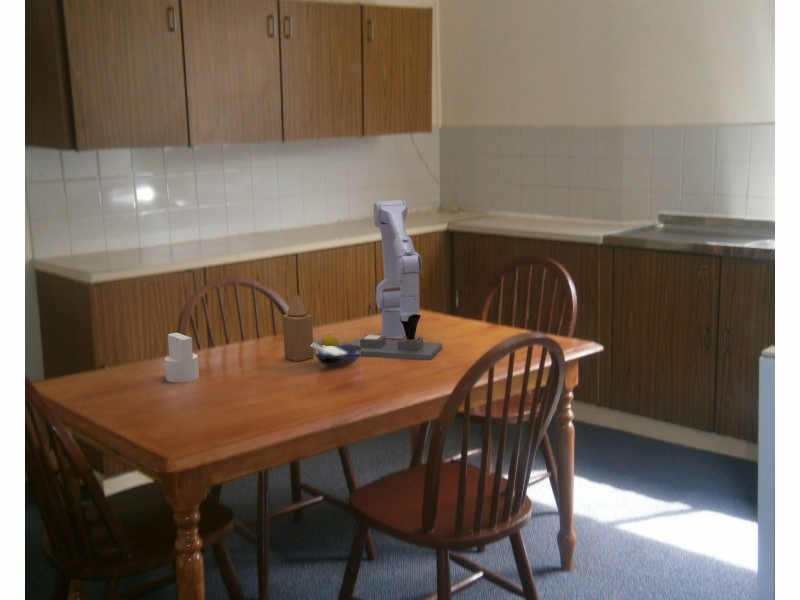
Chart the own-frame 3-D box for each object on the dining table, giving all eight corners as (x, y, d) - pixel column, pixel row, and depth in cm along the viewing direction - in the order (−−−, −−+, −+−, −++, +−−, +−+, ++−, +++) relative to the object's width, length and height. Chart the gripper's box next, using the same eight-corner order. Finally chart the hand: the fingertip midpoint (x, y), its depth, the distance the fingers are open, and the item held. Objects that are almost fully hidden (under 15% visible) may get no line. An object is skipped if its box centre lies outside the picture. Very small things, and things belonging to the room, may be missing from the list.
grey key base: (356, 343, 287) (355, 330, 286) (442, 347, 279) (441, 335, 279) (340, 354, 274) (340, 341, 273) (430, 360, 266) (430, 346, 265)
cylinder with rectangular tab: (160, 377, 255) (157, 336, 253) (189, 371, 261) (186, 330, 258) (175, 384, 248) (171, 342, 246) (204, 377, 254) (202, 336, 251)
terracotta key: (405, 343, 277) (405, 336, 277) (419, 343, 276) (419, 337, 276) (401, 346, 273) (401, 340, 273) (415, 347, 272) (415, 341, 272)
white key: (368, 341, 281) (368, 334, 280) (382, 341, 279) (381, 335, 279) (363, 344, 277) (363, 338, 276) (377, 345, 275) (377, 339, 275)
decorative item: (314, 358, 271) (311, 292, 267) (296, 362, 267) (292, 295, 263) (302, 353, 276) (299, 289, 272) (283, 358, 272) (280, 292, 268)
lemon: (317, 360, 269) (316, 333, 267) (331, 356, 273) (330, 330, 271) (329, 363, 265) (328, 337, 263) (343, 359, 269) (342, 333, 267)
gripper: (402, 289, 279) (403, 332, 282) (390, 299, 266) (391, 344, 268) (425, 290, 277) (426, 333, 280) (413, 300, 264) (414, 345, 267)
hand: (410, 339), depth 274 cm, fingers closed, pressing on terracotta key
